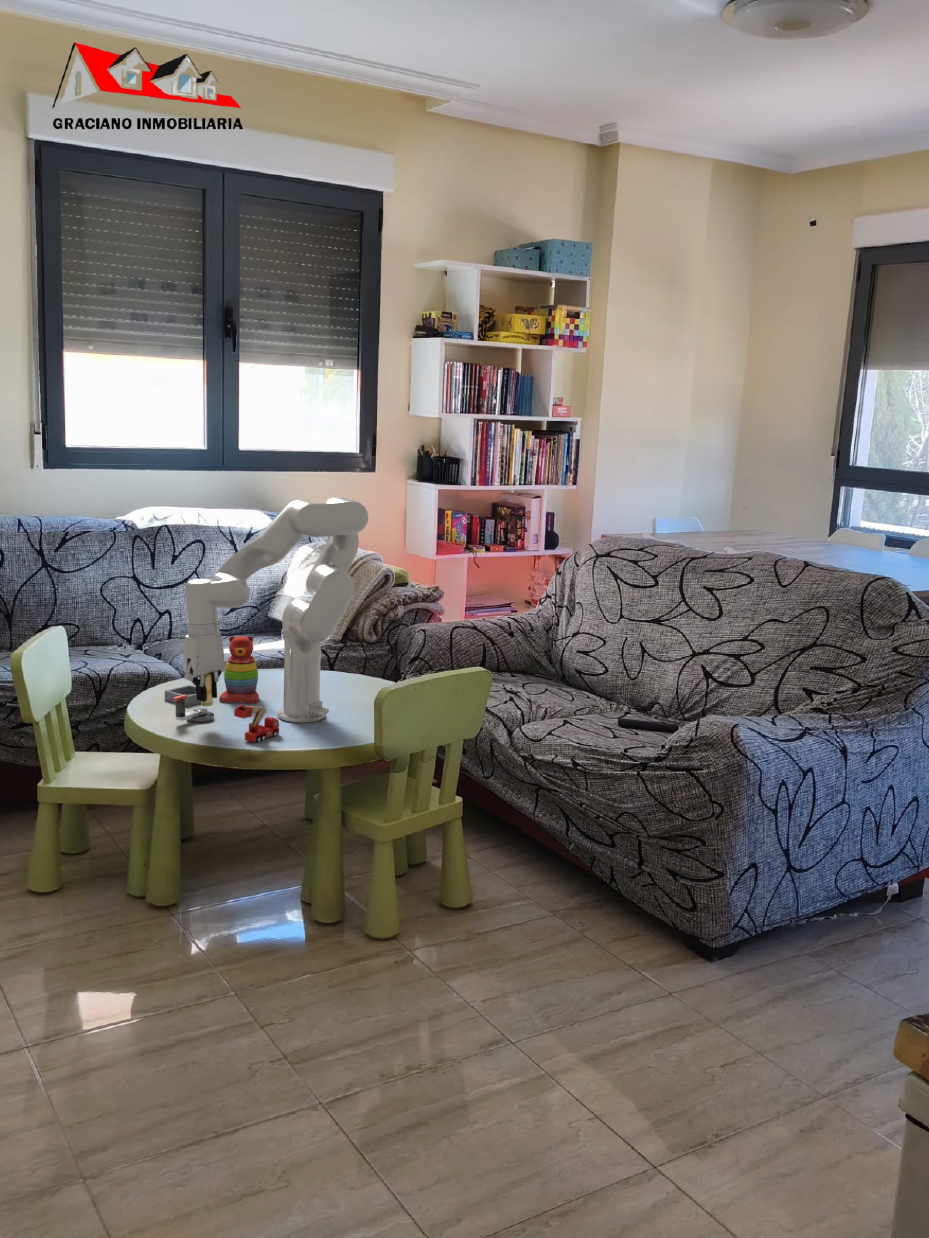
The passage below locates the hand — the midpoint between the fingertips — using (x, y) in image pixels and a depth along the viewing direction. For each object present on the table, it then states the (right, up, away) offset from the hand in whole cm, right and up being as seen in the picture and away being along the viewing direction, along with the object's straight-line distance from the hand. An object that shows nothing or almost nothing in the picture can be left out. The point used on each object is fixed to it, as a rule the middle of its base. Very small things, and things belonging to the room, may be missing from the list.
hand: (206, 698), depth 277 cm
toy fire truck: (+14, -10, -7) cm, 19 cm away
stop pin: (0, -2, 0) cm, 2 cm away
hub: (-4, -6, +7) cm, 10 cm away
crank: (-5, -5, +4) cm, 8 cm away
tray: (-11, -2, +24) cm, 27 cm away
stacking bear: (+3, -2, +28) cm, 29 cm away
